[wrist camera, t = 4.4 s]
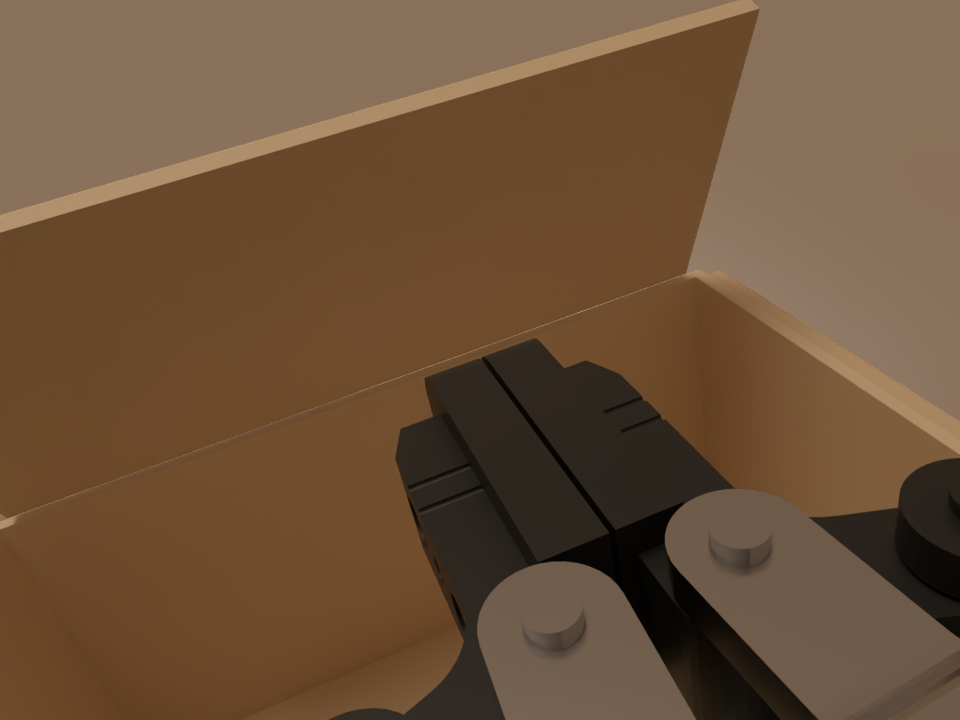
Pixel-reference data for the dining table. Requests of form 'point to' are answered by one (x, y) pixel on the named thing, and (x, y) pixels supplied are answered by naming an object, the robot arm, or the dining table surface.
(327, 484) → the carton
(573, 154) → the carton flap
